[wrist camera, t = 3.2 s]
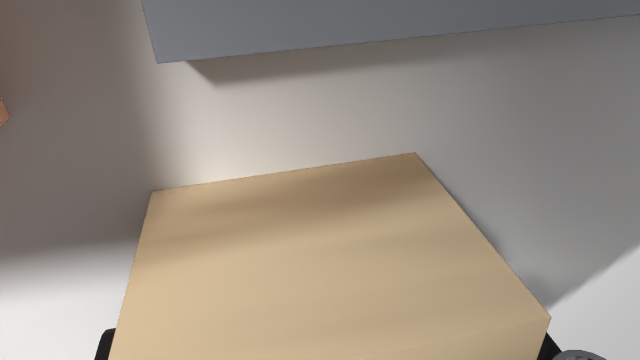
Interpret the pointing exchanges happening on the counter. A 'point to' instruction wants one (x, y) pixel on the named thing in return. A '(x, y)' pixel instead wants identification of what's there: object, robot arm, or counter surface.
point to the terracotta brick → (3, 113)
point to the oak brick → (322, 272)
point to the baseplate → (342, 22)
